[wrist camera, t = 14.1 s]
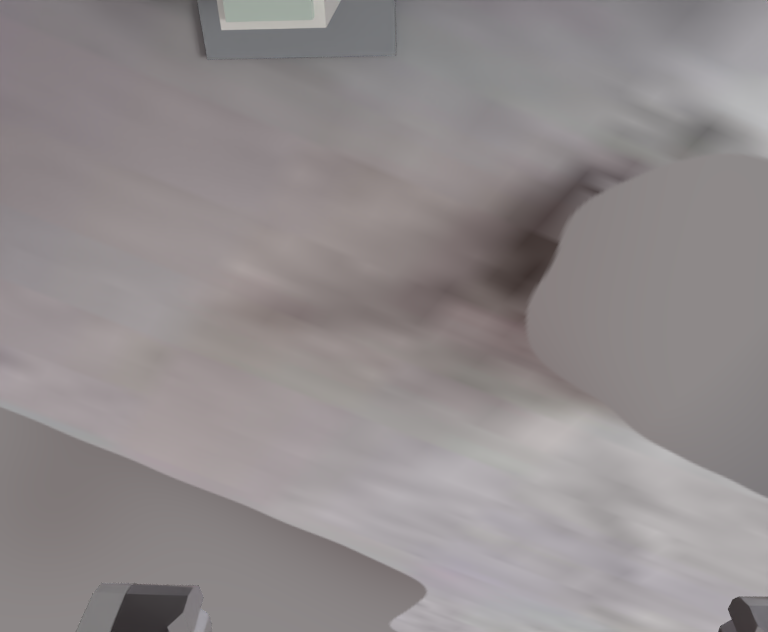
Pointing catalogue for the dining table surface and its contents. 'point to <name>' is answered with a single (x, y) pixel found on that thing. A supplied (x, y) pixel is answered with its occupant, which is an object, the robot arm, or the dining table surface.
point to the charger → (275, 14)
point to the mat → (307, 34)
